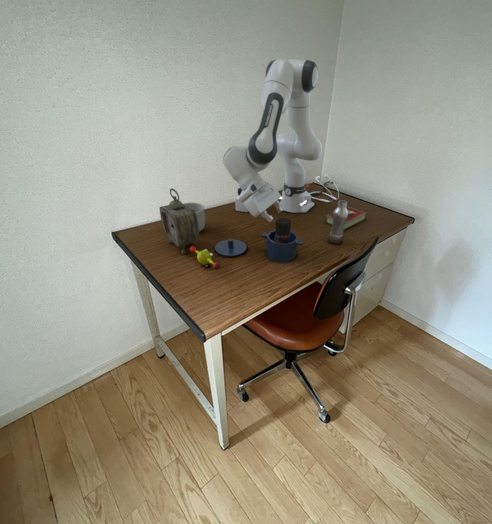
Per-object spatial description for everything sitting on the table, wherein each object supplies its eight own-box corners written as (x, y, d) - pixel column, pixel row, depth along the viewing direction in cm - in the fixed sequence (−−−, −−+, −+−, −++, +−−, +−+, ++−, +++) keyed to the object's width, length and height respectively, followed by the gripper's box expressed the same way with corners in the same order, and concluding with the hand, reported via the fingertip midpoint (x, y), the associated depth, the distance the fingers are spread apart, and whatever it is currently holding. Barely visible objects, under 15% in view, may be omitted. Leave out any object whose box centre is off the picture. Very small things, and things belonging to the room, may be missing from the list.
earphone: (331, 199, 161) (316, 174, 162) (315, 213, 174) (301, 190, 175) (344, 195, 169) (329, 171, 170) (327, 208, 182) (314, 186, 183)
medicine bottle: (247, 212, 146) (247, 191, 140) (235, 210, 147) (234, 189, 141) (251, 207, 152) (251, 187, 146) (239, 206, 153) (239, 185, 146)
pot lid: (224, 239, 121) (223, 230, 119) (251, 245, 118) (251, 236, 116) (209, 253, 111) (208, 244, 108) (238, 260, 108) (238, 250, 105)
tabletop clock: (166, 242, 115) (154, 185, 101) (185, 236, 121) (177, 181, 107) (182, 257, 107) (171, 197, 93) (202, 249, 112) (195, 192, 98)
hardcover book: (325, 222, 143) (326, 214, 141) (346, 212, 156) (348, 205, 154) (343, 230, 137) (345, 223, 135) (364, 219, 150) (366, 212, 147)
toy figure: (226, 273, 100) (225, 258, 97) (213, 279, 97) (212, 264, 93) (198, 253, 110) (196, 239, 106) (186, 258, 106) (184, 244, 102)
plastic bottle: (325, 239, 128) (332, 199, 116) (337, 237, 130) (345, 198, 119) (331, 246, 123) (339, 205, 112) (344, 244, 125) (353, 204, 114)
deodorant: (290, 255, 113) (293, 223, 104) (277, 257, 111) (279, 225, 102) (285, 248, 117) (287, 217, 109) (272, 250, 115) (273, 218, 107)
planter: (193, 221, 134) (190, 200, 127) (211, 228, 129) (209, 207, 123) (173, 230, 125) (169, 208, 118) (192, 238, 120) (188, 215, 114)
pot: (266, 242, 121) (267, 226, 116) (304, 251, 117) (306, 234, 113) (256, 256, 111) (256, 238, 106) (297, 266, 107) (299, 248, 103)
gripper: (261, 184, 113) (281, 211, 116) (236, 200, 97) (259, 230, 100) (271, 175, 109) (291, 203, 112) (246, 190, 93) (271, 222, 96)
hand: (276, 216), depth 106 cm, fingers open, 8 cm apart
